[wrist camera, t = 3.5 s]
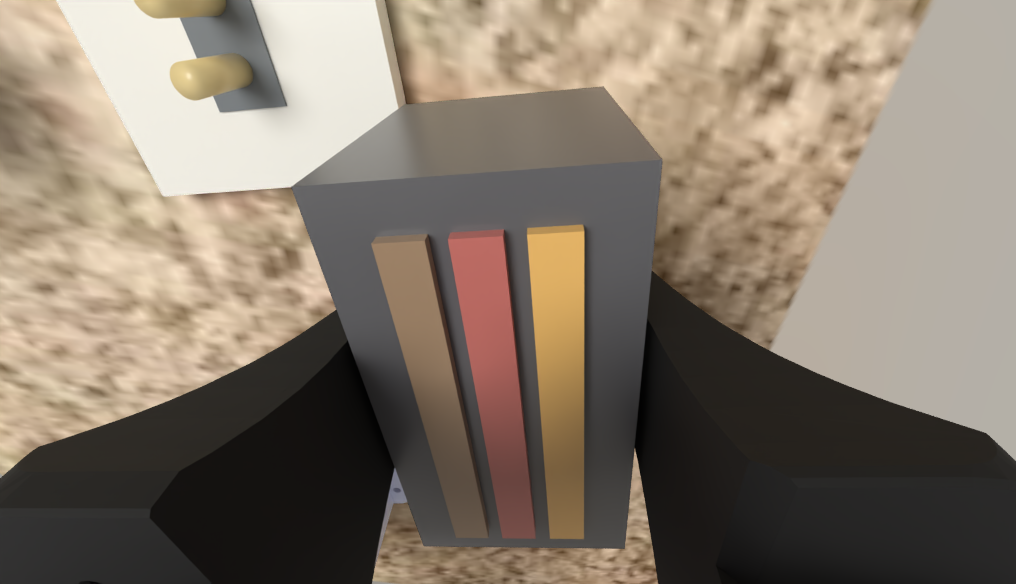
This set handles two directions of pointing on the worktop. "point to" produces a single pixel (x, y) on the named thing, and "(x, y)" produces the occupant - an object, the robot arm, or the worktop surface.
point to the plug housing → (498, 307)
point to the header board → (240, 83)
